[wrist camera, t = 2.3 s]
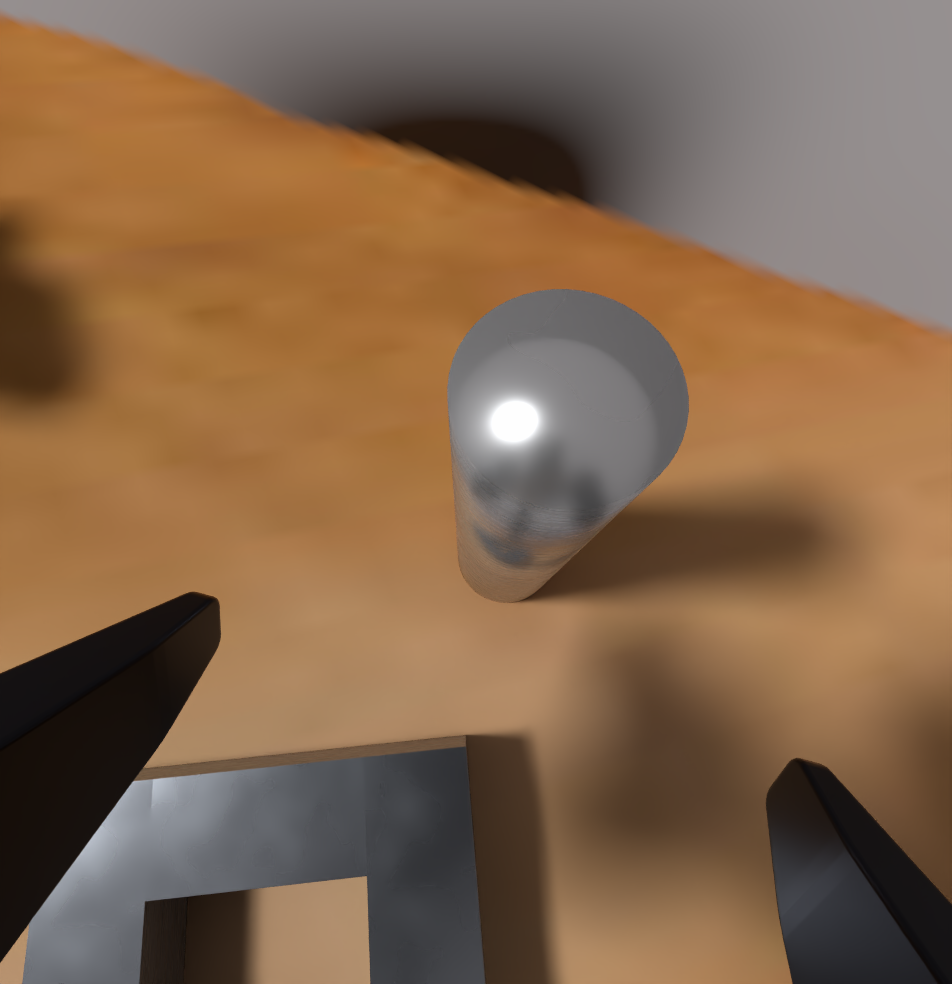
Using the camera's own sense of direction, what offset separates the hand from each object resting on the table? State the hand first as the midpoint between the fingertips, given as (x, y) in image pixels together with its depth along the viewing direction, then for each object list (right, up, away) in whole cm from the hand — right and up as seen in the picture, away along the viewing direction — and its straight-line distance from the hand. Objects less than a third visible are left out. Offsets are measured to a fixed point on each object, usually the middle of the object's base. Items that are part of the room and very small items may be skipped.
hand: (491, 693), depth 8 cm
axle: (+1, +1, +12) cm, 12 cm away
